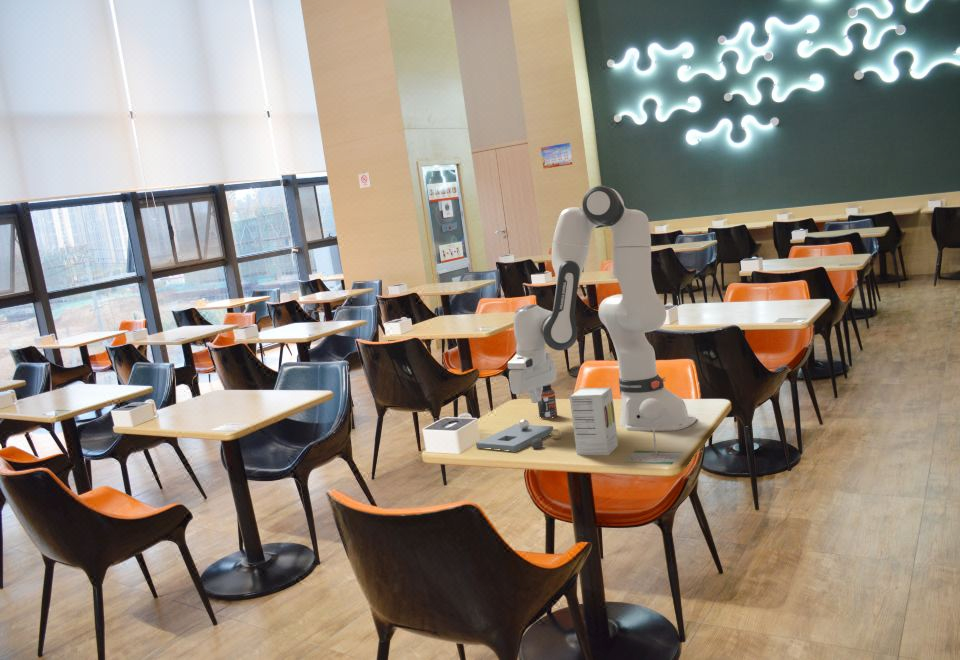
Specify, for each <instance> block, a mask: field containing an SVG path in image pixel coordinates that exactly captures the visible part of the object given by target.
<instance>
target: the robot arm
mask: <svg viewBox="0 0 960 660" xmlns="http://www.w3.org/2000/svg"><path fill="white" fill-rule="evenodd" d="M625 202H626V201H625V199H624V197H622V195H621V194H620V193H619V192H618V191H617V190H615V189H614V188H611V187H609V186H607V185H596V186H593V187H591V188H590V189H588V190H587V191H586V193H585V194H584V195H583V199H582V202H581V203H582V204H581V205H582V206H580V207H575V206H571V207H567V208H565V209H563V210H562V211H561V212H560V214H559V216H558V219H557V221H556V225H555V226H556V227H555V230H554V233H553V238H552V243H551V266H552V269H553V271H554V275H555V284H556V286H555V287H556V288H555V295H554V300H553V301H554V302H553V308H552V311H551V310H548V309H545V308H543V307H541V306H539V305H538V304H535V303H534V304H529V305H525V306H522V307H520V308H518V309H517V310H515V312H514V314H513V333H514V338H515V340H516V346H515V347H516V348H515V350H516V353H515V355H514V356H513V357H512V358H511V359H510V360H509V361H508V362H507V368H508V370H509V372H508V381H509V388H510V391H511V393H512V394H513V395H523V394H525V393H528V395H529V396H530V398H531V399H530V401H531V403H532V404H536V403H537V404H538V402H539V401H541V400H542V399H541V394H542V391H543V385H546V384H549V383H550V384H551V383H553V382H556V381H557V378H558V377H557V376H558V374H557V370H556V369H557V368H556V365H555V362H554V360H553V356H552V355H551V353H549V352H546V344H547V346H548V347H549V348H550V349H552V350H555V351H565V350H569V349H570V348H572V347H573V346H574V345H575V344H576V341H577V340H578V334H579V332H578V326H577V323H576V319H575V310H576V304H577V295H578V290H579V283H580V280H581V276H582V274H583V270H584V268H585V265H586V261H587V257H588V254H589V249H590V244H591V243H590V242H591V241H590V240H591V237H592V234H593V231H594V230H595V229H599V228H605V227H609V228H610V229H611V232H612V238H613V239H612V240H613V241H612V273H613V276H614V278H615V279H616V280H617V282H618V284H619V288H620V291H621V293H619V294H618V293H617V294H613V295H611V296H608V297H605V298H604V299H603V300H602V301H601V302H600V304H599V307H598V312H597V313H598V317H599V320H600V322H601V323H602V324H603V325H604V327H605V328H606V329H607V332H608V333H609V337H610V339H611V341H612V343H613V346H614V349H615V353H616V359H617V364H618V366H617V367H618V374H619V377H618V385H619V393H620V396H621V411H620V412H621V413H620V420H619V425H620V426H621V427H623V428H624V429H625V430H626V431H639V432H640V431H645V432H646V431H648V432H649V431H652V432H653V428H652V421H648V420H646V419H644V418H643V417H642V415H641V413H640V411H639V408H640V405H641V403H642V402H643V401H644V400H646V399H648V398H654V399H657V400H658V401H659V402H660V403H661V404H662V406H663V413H662V415H661V417H660V418H659V419H657V420H655V421H654V430H655V432H656V431H662V432H663V431H664V432H665V431H667V432H668V431H669V432H670V431H674V432H675V431H680V430H683V429H686V428H688V427H690V426H692V425H693V424H694V423H695V422H696V421H697V418H696V415H695V414H689V412H688V408H687V405H686V403H685V401H684V399H683V398H681V396H680V397H679V396H678V395H677V394H675V393H673V392H672V391H671V390H670V389H668V388H666V387H665V385H664V382H665V381H666V380H667V379H666V376H664V377H661V376H660V375H659V374H658V371H657V363H656V361H657V360H656V353H655V349H654V347H653V345H652V344H651V343H650V342H649V340H648V339H647V337H646V335H645V333H651V332H654V331H658V330H659V329H660V328H661V327H663V325H664V324H665V322H666V320H667V318H666V317H667V309H666V306H665V304H664V303H663V301H662V300H661V299H660V298H659V295H658V294H657V291H656V288H655V284H654V280H653V275H652V238H651V237H652V236H651V227H650V223H649V217H648V216H647V214H646V213H645V212H644V211H641V210H638V209H634V208H633V209H630V208H627V207H626V203H625Z"/></svg>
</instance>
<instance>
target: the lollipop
mask: <svg viewBox="0 0 960 660" xmlns="http://www.w3.org/2000/svg"><path fill="white" fill-rule="evenodd" d="M639 411H640V413H641V415H642V417H643V418H644V419H646V420H648V421H652V428H653V431H652V437H653V444H654V445H653V447H654V453H655V455H657V454H658V448H657V441H656V439H657V438H656V431H655V430H654V421H655V420H657V419H659V418H660V417H661V415H662V413H663V406H662V404H661V403H660V402H659V401H658V400H657V399H654V398H648V399H646V400H644V401H643V402H642V403H641V405H640V408H639Z"/></svg>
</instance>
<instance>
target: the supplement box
mask: <svg viewBox="0 0 960 660" xmlns="http://www.w3.org/2000/svg"><path fill="white" fill-rule="evenodd" d="M612 389H613V388H612V387H610V386H609V387H608V386H607V387H585V388H579V389H578V390H577V391H575V392H574V393H573V394H571V395H570V396H569V401H570V410H571V418H572V426H573V435H574V442H575V451H576V455H578V456H610V454H611V453H613V452H614V451H615V450H616V449H617V447H618V446H619V442H618V433H617V423H616V414H615V408H614V407H615V406H614V397H613V396H614V395H613V390H612Z"/></svg>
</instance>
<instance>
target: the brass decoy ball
mask: <svg viewBox="0 0 960 660" xmlns="http://www.w3.org/2000/svg"><path fill="white" fill-rule="evenodd" d="M562 435H563V434H562V430H560V429H559V428H553V430H552V432H551V435H550V437H551V439H553V440H560V439H561V438H562Z"/></svg>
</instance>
